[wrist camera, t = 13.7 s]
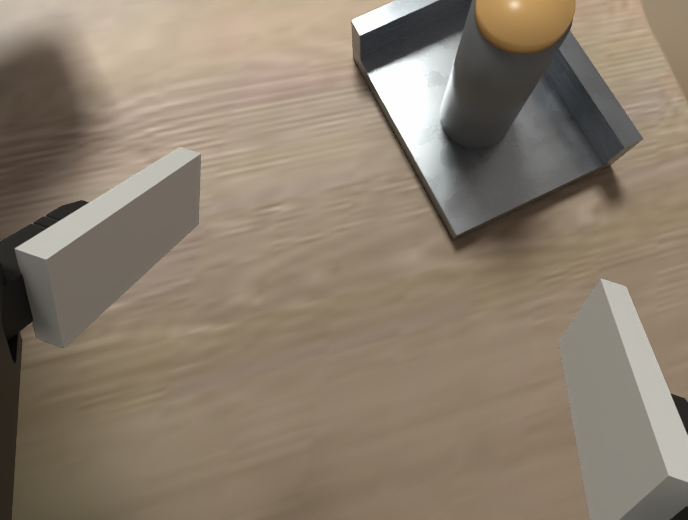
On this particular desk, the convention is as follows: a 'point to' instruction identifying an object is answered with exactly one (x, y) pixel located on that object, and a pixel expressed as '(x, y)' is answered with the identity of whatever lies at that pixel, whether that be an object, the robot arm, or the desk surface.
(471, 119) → the grey cylinder orange top
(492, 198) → the plate
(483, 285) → the desk surface
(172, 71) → the desk surface
